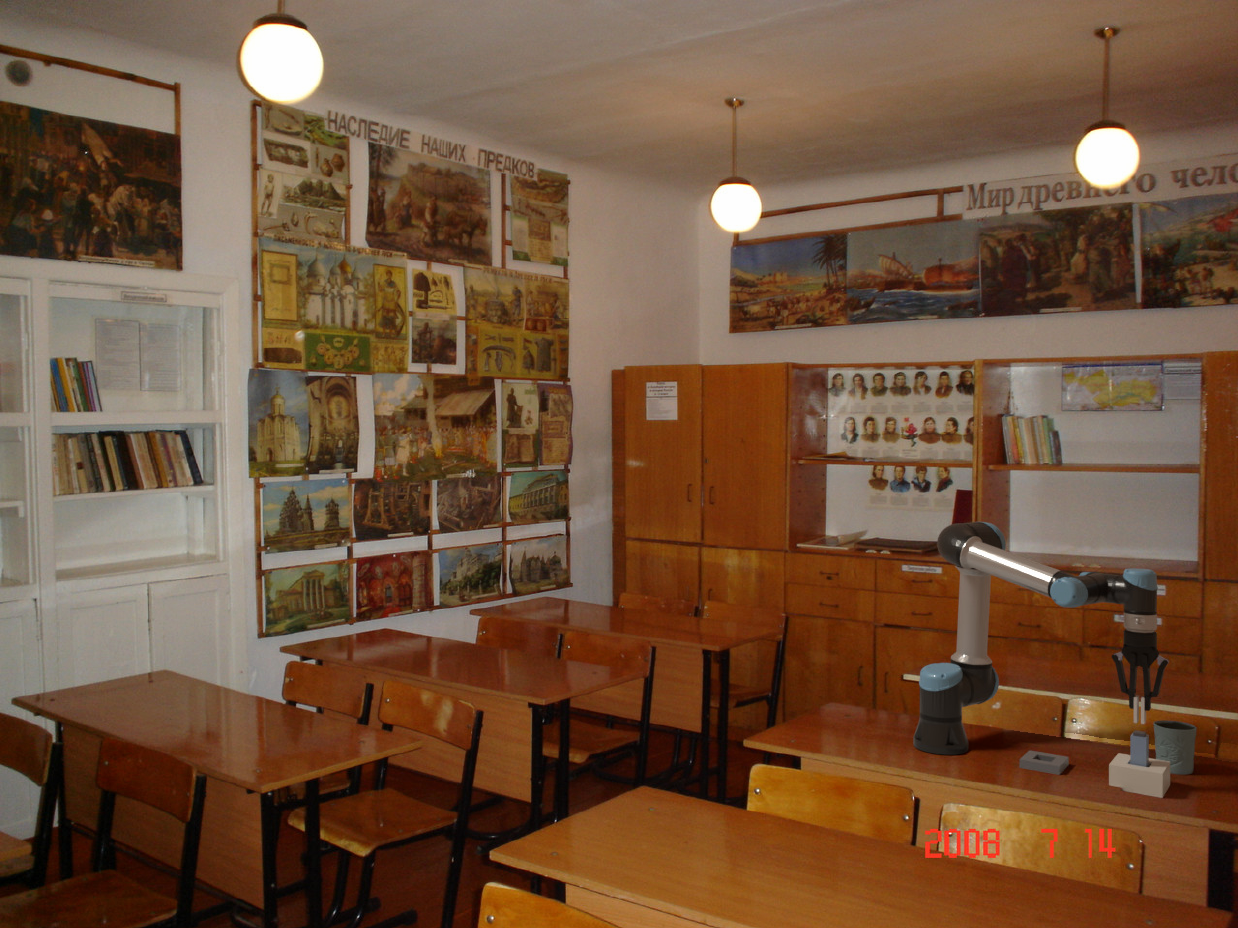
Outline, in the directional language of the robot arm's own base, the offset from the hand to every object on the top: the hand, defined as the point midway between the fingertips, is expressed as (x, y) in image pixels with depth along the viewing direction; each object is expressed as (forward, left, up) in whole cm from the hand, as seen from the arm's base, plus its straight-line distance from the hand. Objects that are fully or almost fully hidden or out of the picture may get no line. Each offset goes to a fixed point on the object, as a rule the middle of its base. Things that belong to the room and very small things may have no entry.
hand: (1139, 722), depth 250 cm
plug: (0, 0, -15) cm, 15 cm away
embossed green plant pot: (+5, +21, -17) cm, 27 cm away
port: (0, 0, -16) cm, 16 cm away
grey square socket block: (-23, 0, -16) cm, 28 cm away
